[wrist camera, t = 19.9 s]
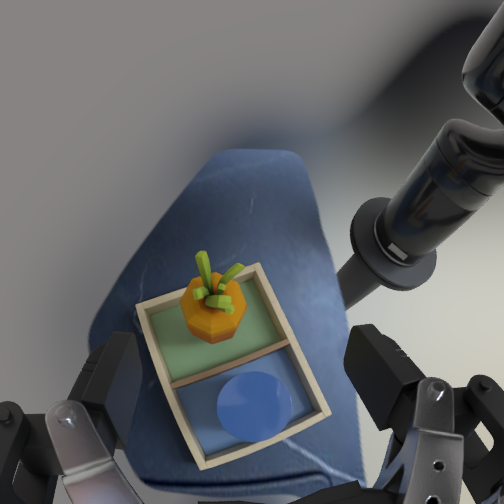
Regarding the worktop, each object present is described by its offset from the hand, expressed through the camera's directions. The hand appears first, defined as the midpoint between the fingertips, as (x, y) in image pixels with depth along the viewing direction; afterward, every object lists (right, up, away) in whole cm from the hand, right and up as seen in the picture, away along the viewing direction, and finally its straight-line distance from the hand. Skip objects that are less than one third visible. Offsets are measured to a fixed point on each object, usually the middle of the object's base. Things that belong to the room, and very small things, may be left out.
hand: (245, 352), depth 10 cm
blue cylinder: (0, -12, +16) cm, 20 cm away
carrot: (-4, -5, +20) cm, 21 cm away
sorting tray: (-2, -8, +19) cm, 21 cm away
